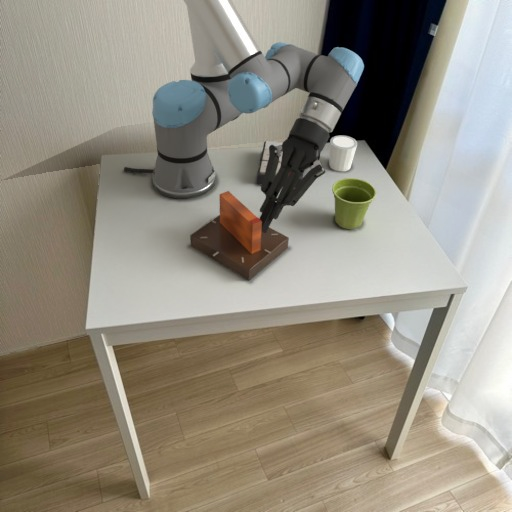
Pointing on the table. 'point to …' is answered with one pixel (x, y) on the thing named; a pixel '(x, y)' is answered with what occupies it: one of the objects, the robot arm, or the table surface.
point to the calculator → (265, 160)
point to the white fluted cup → (342, 152)
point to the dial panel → (237, 248)
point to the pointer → (240, 222)
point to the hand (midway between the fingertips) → (260, 230)
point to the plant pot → (352, 201)
